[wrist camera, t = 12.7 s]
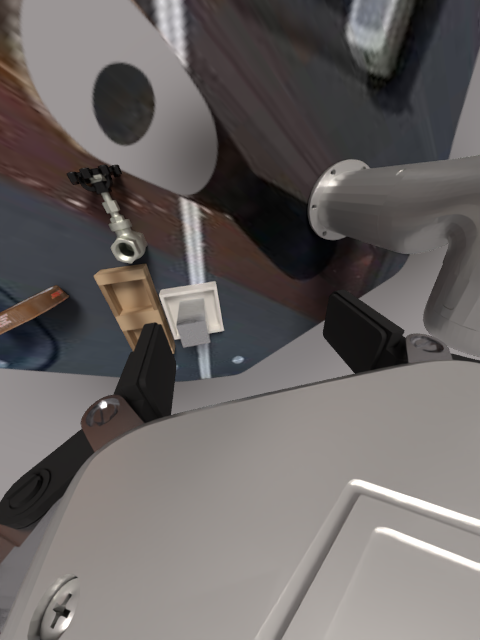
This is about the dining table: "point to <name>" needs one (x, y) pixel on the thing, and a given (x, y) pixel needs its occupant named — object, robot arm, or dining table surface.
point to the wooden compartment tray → (133, 300)
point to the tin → (31, 308)
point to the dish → (177, 294)
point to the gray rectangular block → (193, 322)
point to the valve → (112, 211)
